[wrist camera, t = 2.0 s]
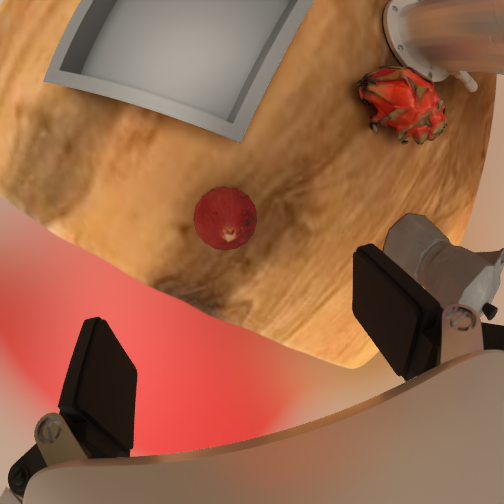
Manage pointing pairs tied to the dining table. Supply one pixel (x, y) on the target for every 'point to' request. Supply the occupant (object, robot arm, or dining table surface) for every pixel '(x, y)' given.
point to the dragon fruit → (404, 103)
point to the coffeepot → (445, 265)
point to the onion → (225, 218)
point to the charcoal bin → (179, 55)
